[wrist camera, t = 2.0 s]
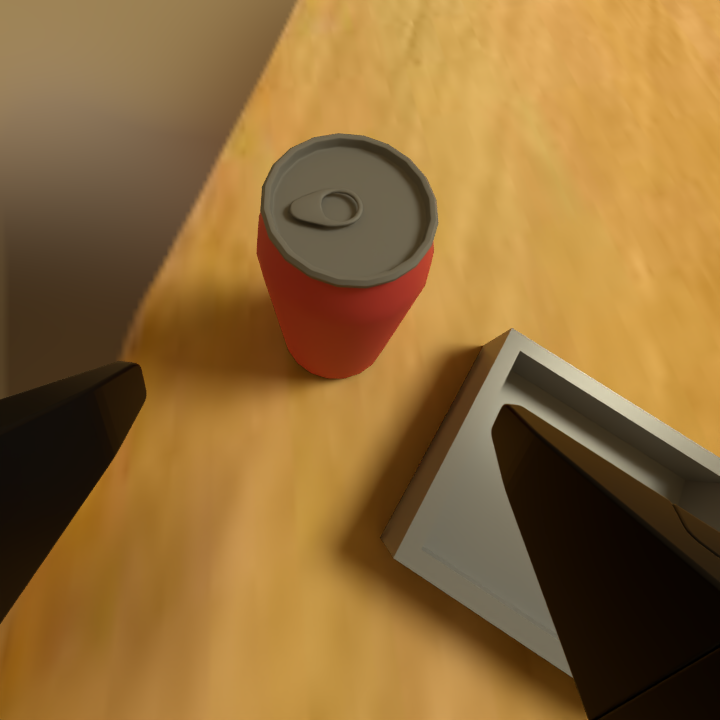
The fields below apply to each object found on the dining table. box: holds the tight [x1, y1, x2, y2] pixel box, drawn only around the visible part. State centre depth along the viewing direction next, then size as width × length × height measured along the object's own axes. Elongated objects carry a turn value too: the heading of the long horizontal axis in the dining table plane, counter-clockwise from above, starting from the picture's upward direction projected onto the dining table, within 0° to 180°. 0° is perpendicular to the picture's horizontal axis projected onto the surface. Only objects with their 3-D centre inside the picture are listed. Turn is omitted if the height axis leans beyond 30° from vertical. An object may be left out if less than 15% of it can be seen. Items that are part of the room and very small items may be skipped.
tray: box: [380, 328, 720, 678], centre depth 19 cm, size 14×16×4 cm
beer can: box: [257, 133, 438, 378], centre depth 16 cm, size 7×7×12 cm
